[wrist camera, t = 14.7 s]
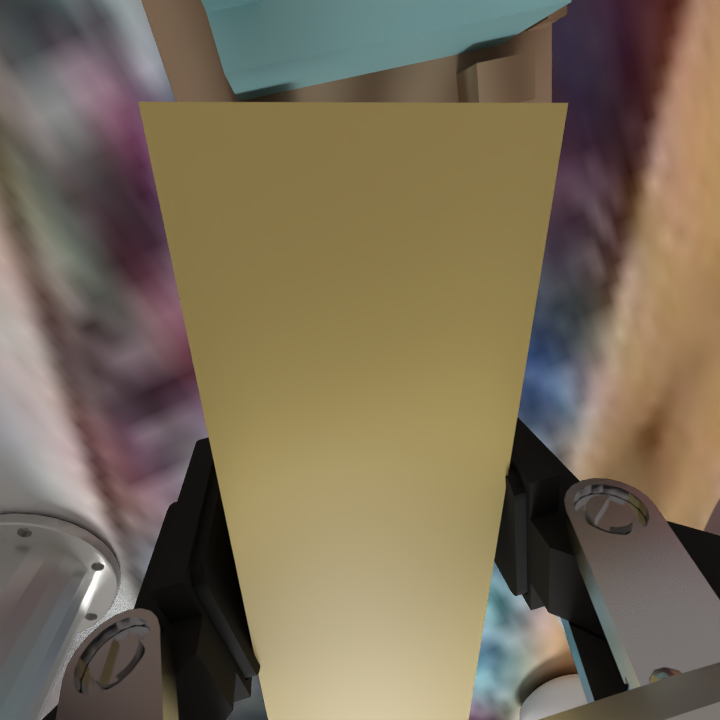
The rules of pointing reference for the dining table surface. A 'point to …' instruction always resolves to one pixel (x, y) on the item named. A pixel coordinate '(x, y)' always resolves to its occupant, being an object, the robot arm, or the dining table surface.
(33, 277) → the dining table surface
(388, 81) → the jig
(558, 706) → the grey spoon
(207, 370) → the tan wooden bar
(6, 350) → the dining table surface
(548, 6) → the teal notched block
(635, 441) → the dining table surface
